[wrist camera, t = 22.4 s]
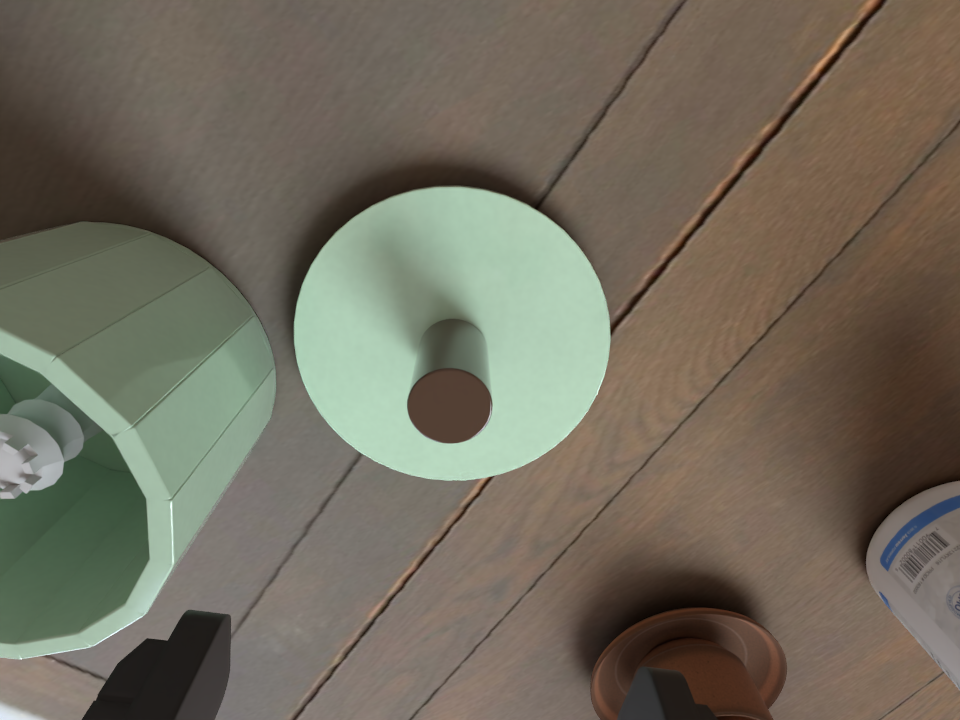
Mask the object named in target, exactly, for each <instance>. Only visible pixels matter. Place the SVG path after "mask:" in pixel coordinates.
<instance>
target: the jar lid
mask: <svg viewBox="0 0 960 720" xmlns="http://www.w3.org/2000/svg"><path fill="white" fill-rule="evenodd" d="M610 339H611V337H610V318H609V313H608V308H607V302H606V298H605V295H604V292H603V289H602V287H601V284H600V281H599V279H598V277H597V275H596V273H595V271H594V269H593V267H592V265H591V263H590V262H589V260H588V259H587V257H586V256H585V254H584V253H583V252H582V250H581V249H580V247H579V246H578V245H577V244H576V242H575V241H574V240H573V239H572V238H571V237H570V236H569V235H568V234H567V233H566V232H565V231H564V230H563V229H562V228H561V227H560V226H559V225H558V224H556V223H555V222H554V221H553V220H551V219H550V218H549V217H548V216H546V215H545V214H543V213H542V212H540V211H538V210H537V209H535V208H533V207H532V206H530V205H528V204H527V203H525V202H522V201H520V200H518V199H515V198H513V197H511V196H508V195H506V194H502V193H499V192H495V191H491V190H488V189H484V188H477V187H469V186H462V185H448V186H431V187H425V188H418V189H413V190H410V191H406V192H403V193H399V194H396V195H393V196H390V197H388V198H386V199H384V200H382V201H379V202H377V203H375V204H373V205H371V206H370V207H368V208H366V209H365V210H363V211H362V212H360V213H358V214H357V215H355V216H354V217H353V218H352V219H350V220H349V221H348V222H347V223H346V224H344V225H343V226H342V227H341V228H340V229H339V230H337V231H336V232H335V234H334V235H333V236H332V237H331V238H330V239H329V240H328V241H327V243H326V244H325V245H324V246H323V247H322V248H321V250H320V252H319V253H318V255H317V256H316V258H315V259H314V261H313V262H312V264H311V266H310V268H309V270H308V272H307V274H306V276H305V279H304V281H303V283H302V286H301V289H300V293H299V296H298V300H297V303H296V310H295V318H294V346H295V353H296V359H297V364H298V367H299V371H300V374H301V377H302V380H303V383H304V385H305V387H306V389H307V392H308V394H309V396H310V398H311V400H312V401H313V403H314V405H315V406H316V408H317V409H318V411H319V413H320V414H321V415H322V417H323V418H324V419H325V420H326V422H327V423H328V424H329V425H330V426H331V428H332V429H333V430H334V431H335V432H336V433H337V434H338V435H339V436H341V437H342V438H343V439H344V440H345V441H346V442H347V443H348V444H350V445H351V446H352V447H354V448H355V449H356V450H358V451H359V452H360V453H362V454H364V455H365V456H367V457H369V458H370V459H372V460H374V461H376V462H378V463H380V464H382V465H384V466H387V467H389V468H391V469H393V470H396V471H400V472H403V473H406V474H409V475H413V476H418V477H423V478H427V479H436V480H447V481H448V480H471V479H479V478H486V477H490V476H494V475H498V474H502V473H505V472H508V471H511V470H514V469H516V468H519V467H521V466H523V465H525V464H527V463H529V462H531V461H533V460H535V459H537V458H539V457H540V456H542V455H543V454H545V453H546V452H548V451H549V450H551V449H552V448H553V447H555V446H556V445H557V444H558V443H559V442H561V441H562V440H563V439H564V438H565V437H566V436H567V435H568V434H569V433H570V432H571V431H572V430H573V429H574V428H575V427H576V426H577V425H578V423H579V422H580V421H581V419H582V418H583V417H584V415H585V414H586V412H587V411H588V410H589V408H590V406H591V404H592V402H593V401H594V399H595V397H596V395H597V393H598V391H599V388H600V386H601V383H602V381H603V378H604V375H605V371H606V367H607V363H608V359H609V350H610Z"/></svg>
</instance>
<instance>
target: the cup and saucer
mask: <svg viewBox="0 0 960 720" xmlns="http://www.w3.org/2000/svg"><path fill="white" fill-rule="evenodd" d="M643 666H644V667H653V668H661V669H669V670H677V671H680V672H681V673H682V674H683V675H684V677H685V679H686V681H687V683H688V686H689V689H690V691H691V694H692V696H693V699H694V701H695V704H703V705H708V707H709V708H710V709H711V711H712V712H713V713H714V715H715V716H716V717H717V719H718V720H773V718H772V716H771V714H770V712H769V710H768V709H769V708H770V707H771V706H772V704H773V703H774V702H775V700H776V699H777V698H778V696H779V694H780V693H781V690H782V688H783V686H784V683H785V680H786V674H787V663H786V658H785V654H784V652H783V650H782V647H781V646H780V644H779V643H778V641H777V640H776V639H775V638H774V637H773V636H772V634H771V633H770V632H769V631H768V630H767V629H765V628H764V627H763V626H762V625H760V624H759V623H757V622H756V621H754V620H752V619H750V618H749V617H746V616H744V615H741V614H738V613H735V612H731V611H726V610H721V609H715V608H702V607H695V608H681V609H675V610H670V611H666V612H662V613H659V614H656V615H653V616H651V617H648V618H646V619H644V620H642V621H640V622H638V623H636V624H634V625H632V626H631V627H629V628H628V629H626V630H625V631H624V632H622V633H621V634H620V635H619V636H617V637H616V638H615V639H614V640H613V641H612V642H611V643H610V644H609V645H608V647H607V648H606V649H605V650H604V651H603V653H602V654H601V656H600V657H599V659H598V661H597V662H596V664H595V667H594V669H593V673H592V677H591V700H592V704H593V707H594V710H595V711H596V713H597V715H598V717H599V718H600V719H601V720H617V718H618V714H619V711H620V709H621V707H622V705H623V702H624V700H625V698H626V696H627V693H628V691H629V689H630V687H631V684H632V682H633V680H634V678H635V675H636V673H637V671H638V669H639V668H640V667H643Z"/></svg>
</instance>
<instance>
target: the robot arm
mask: <svg viewBox="0 0 960 720" xmlns="http://www.w3.org/2000/svg"><path fill="white" fill-rule="evenodd" d="M230 644H231V617H230V615H228V614H220V613H212V612H204V611H195V610H188V611H186V612H185V613H184V614H183V616H182V617H181V619H180V620H179V622H178V624H177V625H176V627H175V629H174V631H173V632H172V634H171V636H170V638H169V639H168V641H165V640H156V639H148V638H147V639H146V640H145V641H143V642H142V643H141V644H140V645H139V646H138V647H136V648H135V649H134V650H133V651H132V652H131V653H130V654H128V655H127V656H126V657H125V658H124V659H123V660H121V661H120V662H119V663H118V664H117V666H116V667H115V669H114V670H113V672H112V673H111V675H110V677H109V678H108V680H107V681H106V683H105V684H104V686H103V687H102V689H101V691H100V692H99V694H98V697H97V699H96V701H93V703H92V705H91V706H90V708H89V709H88V711H87V712H86V714H85V715H84V717H83V719H82V720H215V717H216V715H217V712H218V710H219V708H220V705H221V703H222V700H223V697H224V694H225V690H226V687H227V683H228V678H229V672H230ZM617 720H718V719H717V717H716V716H715V715H714V713H713V712H712V711H711V709H710V708H709V707H708V705H703V704H695V701H694V699H693V696H692V694H691V691H690V689H689V686H688V683H687V681H686V679H685V677H684V675H683V674H682V673H681V672H680V671H677V670H669V669H661V668H653V667H644V666H643V667H640V668H639V669H638V671H637V673H636V675H635V678H634V680H633V682H632V684H631V687H630V689H629V691H628V693H627V696H626V698H625V700H624V702H623V705H622V707H621V709H620V711H619V714H618V718H617Z"/></svg>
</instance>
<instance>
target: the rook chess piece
mask: <svg viewBox="0 0 960 720" xmlns="http://www.w3.org/2000/svg"><path fill="white" fill-rule="evenodd" d="M101 431H103V429H102V428H101V427H100V426H99V425H98V424H96V423H95V422H94V421H93V420H92V419H91V418H90V417H89V416H88V415H86V414H85V413H84V412H83V411H82V410H81V409H80V408H79V407H77V406H76V405H75V404H74V403H73V402H72V401H71V400H70V399H69V398H67V397H66V396H65V395H64V394H63V393H62V392H61V391H60V390H58V389H57V388H56V387H55V386H54V385H53V384H51V385H50V386H48V387H47V388H46V389H45V390H44V391H43V392H42V393H41V394H40V395H39V396H38V397H36V398H35V399H33V400H24V401H22V402H20V403H17V404H15V405H13V407H12V408H11V410H10V411H9V412H8V414H0V488H2V489H3V490H2V491H0V498H1V499H15V498H16V497H17V496H19V495H20V494H21V493H22V492H24V493H28V492H29V491H30V490H42V489H44V488H47V487H49V486H51V485H54V484H55V483H56V481H57V480H58V479H59V478H60V476H61V475H62V474H63V466H64V462H65V461H68V460H70V459H72V458H75V457H76V456H77V455H78V454H79V452H80V451H81V450H82V449H83V443H84V442H85V441H87V440H88V439H90V438H91V437H93V436H95V435H96V434H98V433H100V432H101Z"/></svg>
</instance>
